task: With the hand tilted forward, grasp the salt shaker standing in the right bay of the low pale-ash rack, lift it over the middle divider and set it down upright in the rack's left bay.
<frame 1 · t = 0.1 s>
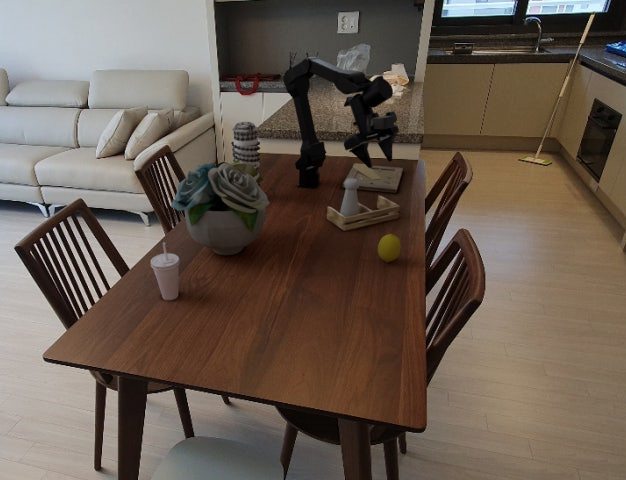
hand: (380, 164, 138), 15 cm above the table, tool tilted 35°, fingers open, 9 cm apart
rack: (361, 217, 141), on the table
flower arrangement: (228, 249, 127), on the table
salt shaker: (348, 221, 140), resting in rack
lemon: (387, 262, 118), on the table
smoothie: (170, 296, 108), on the table
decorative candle: (248, 199, 157), on the table
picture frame: (373, 180, 170), on the table
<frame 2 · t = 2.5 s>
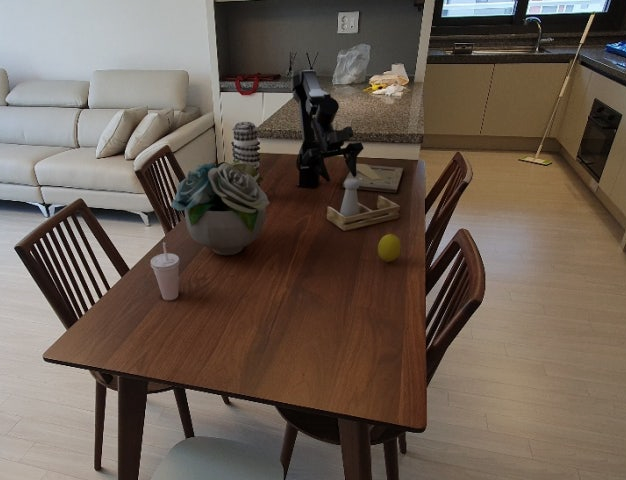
hand: (342, 178, 137), 12 cm above the table, tool tilted 45°, fingers open, 9 cm apart
nothing on the table moved.
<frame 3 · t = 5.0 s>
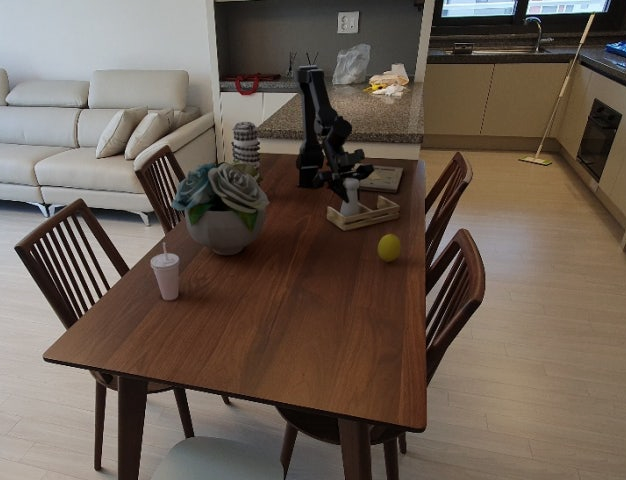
hand: (353, 201, 135), 7 cm above the table, tool tilted 45°, fingers closed on salt shaker, 3 cm apart
salt shaker: (348, 221, 140), resting in rack, touching gripper
everything else where it was.
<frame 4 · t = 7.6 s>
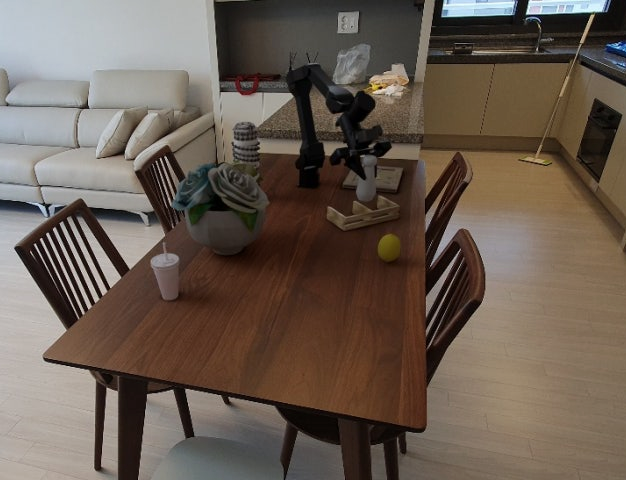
hand: (370, 178, 134), 13 cm above the table, tool tilted 45°, fingers closed on salt shaker, 3 cm apart
salt shaker: (365, 199, 139), point 6 cm above the table, touching gripper
everything else where it was.
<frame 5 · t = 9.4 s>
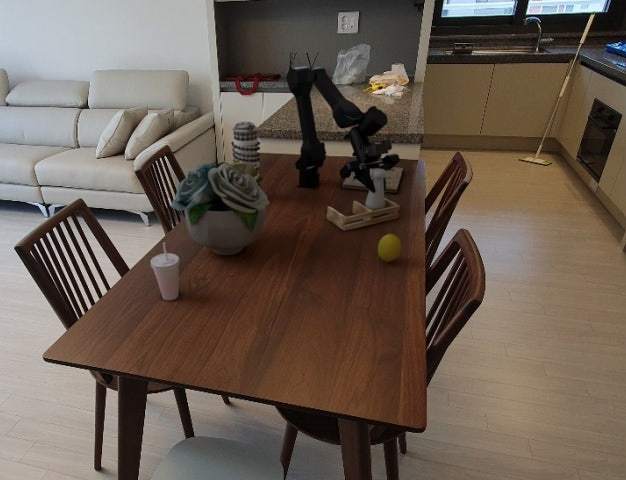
hand: (379, 191, 138), 8 cm above the table, tool tilted 45°, fingers closed on salt shaker, 3 cm apart
salt shaker: (374, 211, 143), point 1 cm above the table, touching gripper
everything else where it was.
when the fingers open (7 cm above the table, at t = 10.2 s): salt shaker stays where it is, resting in rack.
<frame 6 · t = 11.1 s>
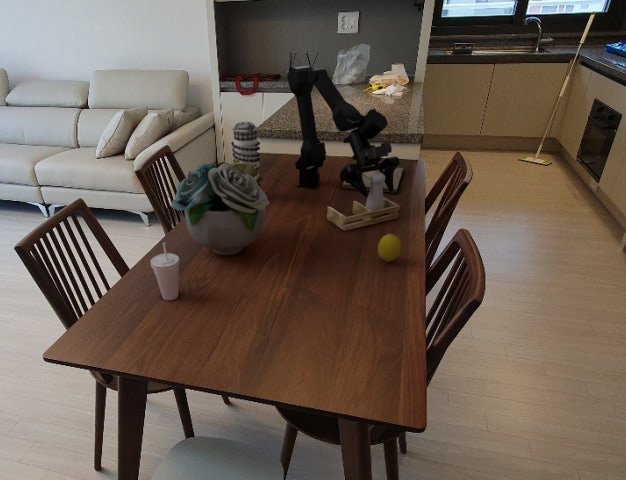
hand: (379, 193, 138), 7 cm above the table, tool tilted 45°, fingers open, 9 cm apart
salt shaker: (373, 215, 143), resting in rack
everything else where it was.
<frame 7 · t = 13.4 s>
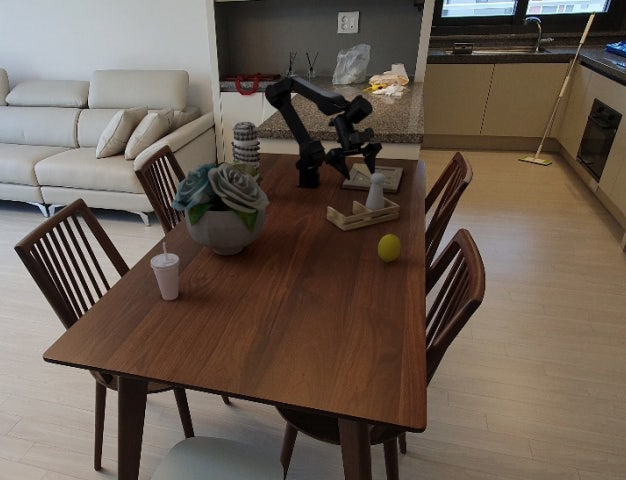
hand: (361, 177, 144), 10 cm above the table, tool tilted 40°, fingers open, 9 cm apart
nothing on the table moved.
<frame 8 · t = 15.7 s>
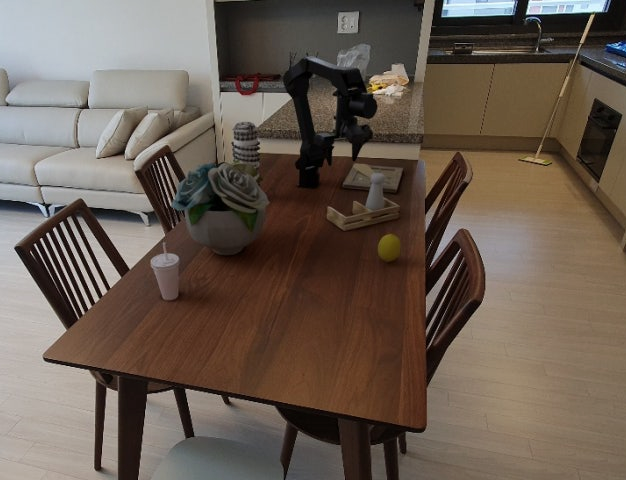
hand: (341, 163, 149), 12 cm above the table, tool pointing down, fingers open, 9 cm apart
nothing on the table moved.
at the end: salt shaker 0.3 cm from the target spot on the rack, point 0.0 cm above the rack's base; salt shaker tilted 0°; the gripper is holding nothing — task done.
